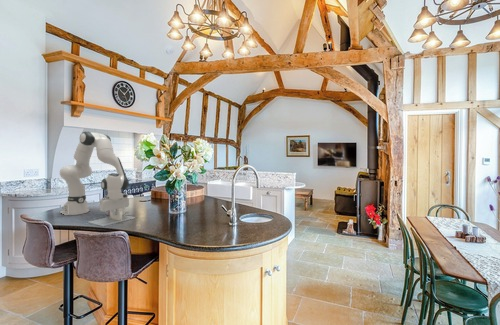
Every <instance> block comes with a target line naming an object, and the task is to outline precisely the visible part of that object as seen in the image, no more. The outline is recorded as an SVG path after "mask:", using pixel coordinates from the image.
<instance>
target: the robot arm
mask: <svg viewBox="0 0 500 325" xmlns="http://www.w3.org/2000/svg"><path fill="white" fill-rule="evenodd" d="M111 140H112V139H111V137H110V136H109V135H107V134H103V133H100V132H94V131H93V132H92V131H91V132H90V131H83V132H81V134H79V142H78V144H77V146H76V148H75V151H74V154H73V159H74V160H75V161H76V164H75V165H66V166H63V167H62V168H60V171H59V176H60V177H61V178H62V179H63V180H64V181H65V183H66V184H67V188H68V196H67V200H66V202H65V203H64V204H63V206H62V210H61V211H59V213H60V214H61V213H62V214H61V215H63V214H64V215H63V216H74V215H75V216H77V215H83V214H86V213H88V212H89V211H90V209H89V203H88V201H87V195H86V186H85V185H84V184H83V183H82V182H81V179H85V178H88V177H90V176H91V175H92V172H93V170H92V168H91V166H90V159H91V157H92V154H93V151H94V149H95V151H96V156H97V159H98V160H99V161H100V162H102V163H104V164H107V165H109V166H112V167H114V168H115V170H116V172H117V173H109V174H107V177H106V178H103V179H102V180H100V181H101V182H100V185H101V187H100V188H101V189H102V190H103V191H105V192H107V194H108V197H106V198H105V197H102V198H101V199H100V200H99V211H100V212H106V211H109V210H111V212H112V213H113V216H115V215H117V213H118V211H119V208H124V207H125V208H127V207H128V208H129V206H130V199H129V198H128V197H129V194H127V193H123V192H122V191H125V190H127V189H128V188H129V185H130V182H129V179H128V177H127V175H126V172H125V169H124V167H123V164H122V161H121V159H120V158H119V156H116V154H115V153H114V147H113V144H112V141H111ZM115 210H116V211H115ZM114 211H115V212H114Z"/></svg>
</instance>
